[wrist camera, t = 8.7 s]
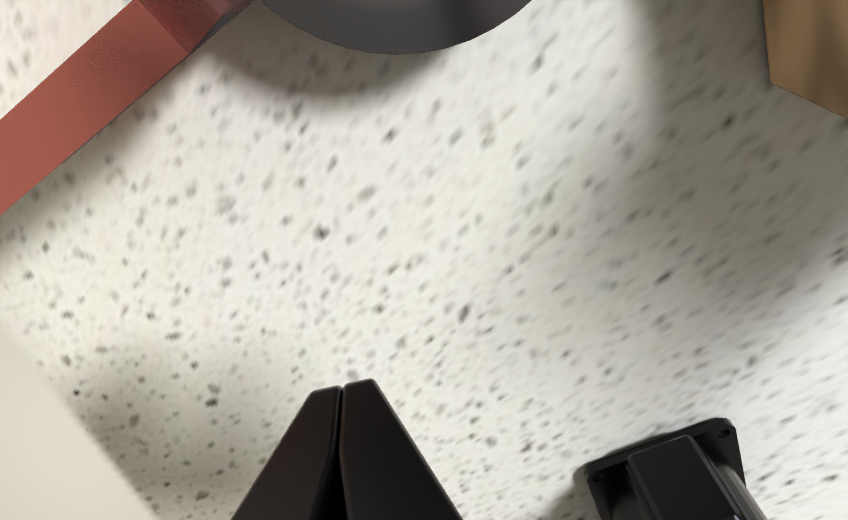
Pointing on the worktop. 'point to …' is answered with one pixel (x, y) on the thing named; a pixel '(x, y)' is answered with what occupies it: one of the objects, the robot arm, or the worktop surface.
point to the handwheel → (179, 37)
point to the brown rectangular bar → (809, 50)
